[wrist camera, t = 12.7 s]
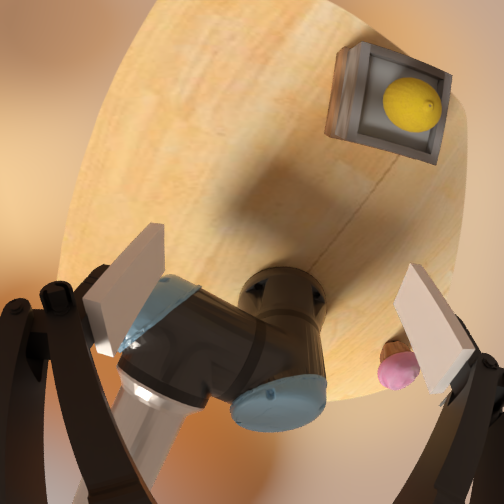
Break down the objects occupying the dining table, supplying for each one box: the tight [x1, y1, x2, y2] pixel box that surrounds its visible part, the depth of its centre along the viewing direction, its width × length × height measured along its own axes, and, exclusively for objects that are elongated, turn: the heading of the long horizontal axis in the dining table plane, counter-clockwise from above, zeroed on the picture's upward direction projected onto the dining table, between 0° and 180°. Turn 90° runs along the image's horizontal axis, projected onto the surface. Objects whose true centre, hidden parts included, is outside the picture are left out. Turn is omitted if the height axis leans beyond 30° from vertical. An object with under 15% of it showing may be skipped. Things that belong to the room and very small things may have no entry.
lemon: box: [383, 77, 442, 133], centre depth 23 cm, size 6×6×8 cm
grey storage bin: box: [324, 41, 452, 165], centre depth 30 cm, size 12×12×12 cm
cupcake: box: [378, 341, 420, 390], centre depth 51 cm, size 9×9×10 cm
